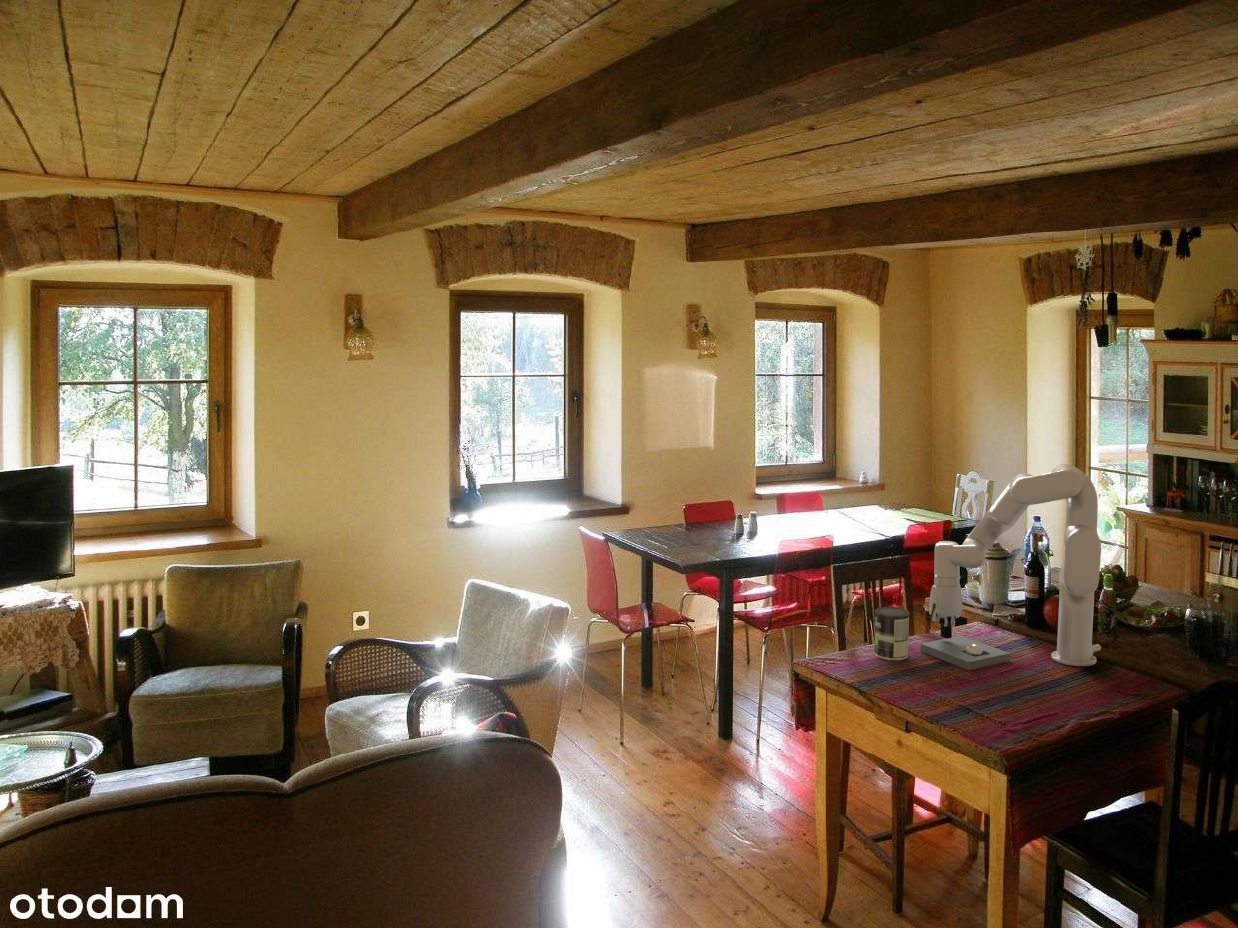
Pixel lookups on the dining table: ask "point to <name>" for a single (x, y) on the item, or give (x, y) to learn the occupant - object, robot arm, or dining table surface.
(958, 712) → the dining table surface
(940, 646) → the hole board
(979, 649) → the steel ball
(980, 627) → the dining table surface
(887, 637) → the coffee can
